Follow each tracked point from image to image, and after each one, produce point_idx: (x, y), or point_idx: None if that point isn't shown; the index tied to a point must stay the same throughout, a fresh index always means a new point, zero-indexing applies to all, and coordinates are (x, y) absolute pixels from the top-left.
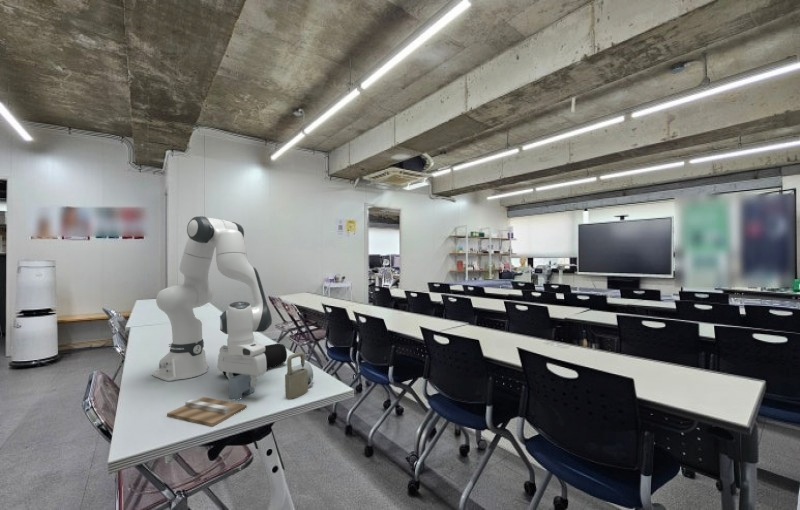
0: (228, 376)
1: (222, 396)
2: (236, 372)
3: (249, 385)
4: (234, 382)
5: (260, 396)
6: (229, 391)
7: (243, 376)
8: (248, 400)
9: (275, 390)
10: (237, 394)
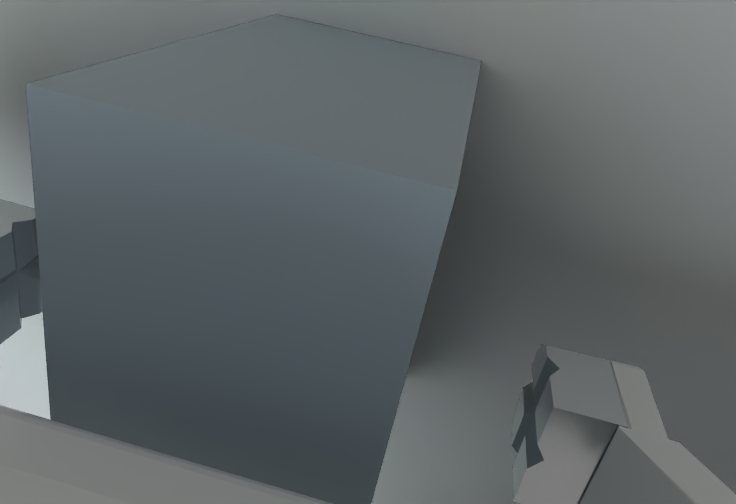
0: (695, 501)
1: (685, 150)
2: (190, 484)
3: (9, 214)
4: (197, 96)
5: None
6: (457, 83)
7: (125, 421)
8: (94, 34)
9: (9, 379)
10: (236, 28)
